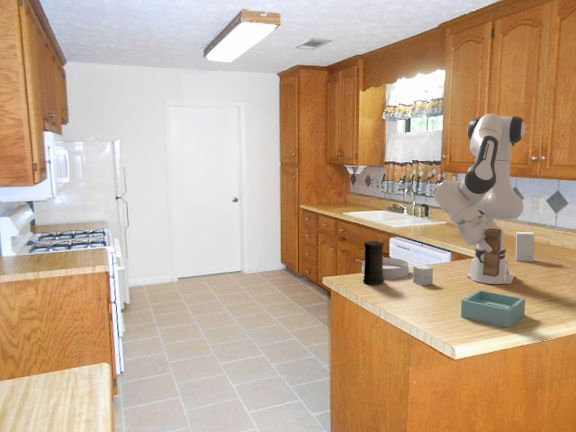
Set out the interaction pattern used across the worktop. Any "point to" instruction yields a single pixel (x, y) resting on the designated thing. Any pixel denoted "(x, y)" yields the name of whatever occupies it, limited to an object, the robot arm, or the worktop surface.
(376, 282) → the container
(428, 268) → the skincare box
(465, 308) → the socket
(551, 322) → the worktop surface
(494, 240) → the peg
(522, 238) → the skincare box
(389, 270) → the dish
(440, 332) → the worktop surface
